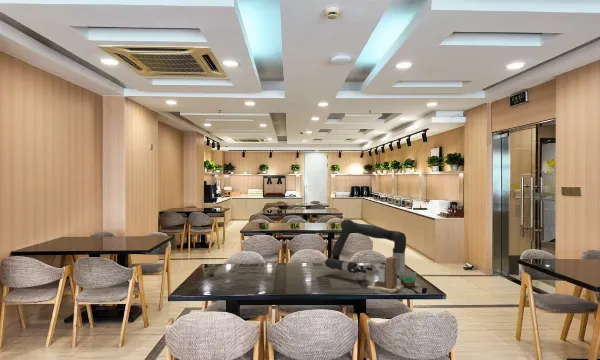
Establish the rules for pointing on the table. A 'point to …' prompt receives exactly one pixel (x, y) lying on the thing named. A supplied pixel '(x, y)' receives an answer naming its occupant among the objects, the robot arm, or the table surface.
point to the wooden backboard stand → (388, 278)
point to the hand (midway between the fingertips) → (369, 270)
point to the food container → (407, 279)
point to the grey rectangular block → (382, 274)
